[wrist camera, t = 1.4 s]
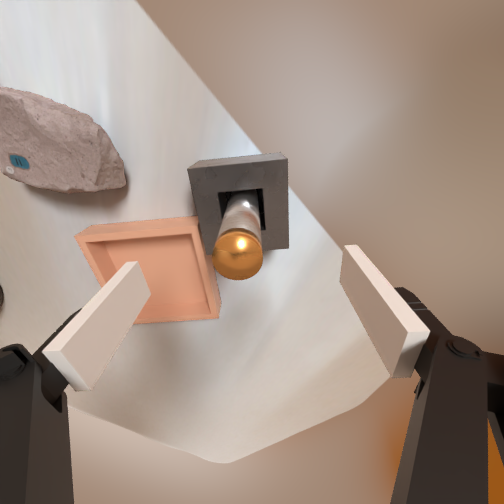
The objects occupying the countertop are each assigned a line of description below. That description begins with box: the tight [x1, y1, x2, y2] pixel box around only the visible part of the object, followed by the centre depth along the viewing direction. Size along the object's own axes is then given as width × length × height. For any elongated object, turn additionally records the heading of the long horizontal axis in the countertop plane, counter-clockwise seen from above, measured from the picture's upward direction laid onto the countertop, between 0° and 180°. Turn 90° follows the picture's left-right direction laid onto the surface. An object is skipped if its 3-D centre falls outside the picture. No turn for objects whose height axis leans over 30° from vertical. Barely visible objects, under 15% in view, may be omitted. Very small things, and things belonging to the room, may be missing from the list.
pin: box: [212, 189, 263, 280], centre depth 23 cm, size 4×4×16 cm
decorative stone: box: [0, 87, 126, 194], centre depth 24 cm, size 13×10×6 cm
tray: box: [74, 216, 221, 324], centre depth 34 cm, size 16×16×4 cm
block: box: [187, 152, 289, 255], centre depth 27 cm, size 10×10×6 cm
